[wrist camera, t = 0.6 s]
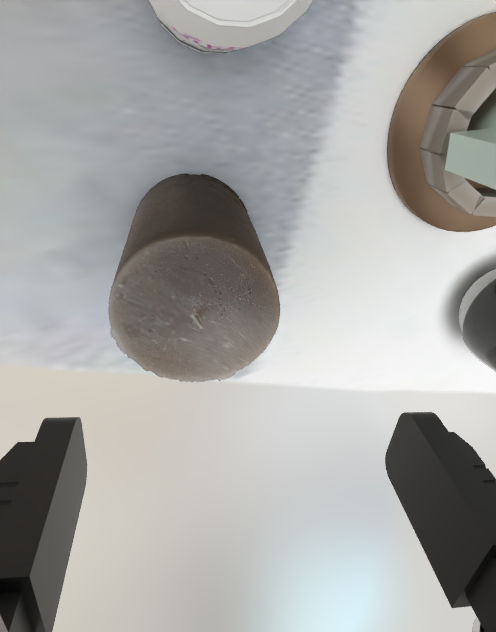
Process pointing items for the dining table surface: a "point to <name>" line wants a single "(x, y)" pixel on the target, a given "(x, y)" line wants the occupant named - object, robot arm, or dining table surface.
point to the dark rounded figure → (480, 319)
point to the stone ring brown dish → (444, 129)
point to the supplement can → (226, 21)
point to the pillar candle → (193, 283)
